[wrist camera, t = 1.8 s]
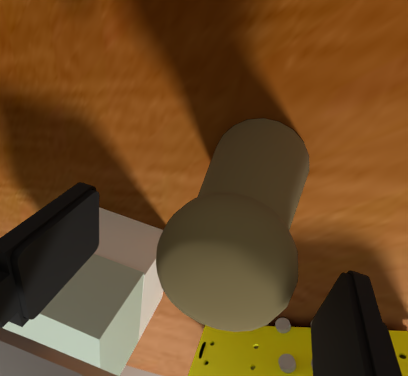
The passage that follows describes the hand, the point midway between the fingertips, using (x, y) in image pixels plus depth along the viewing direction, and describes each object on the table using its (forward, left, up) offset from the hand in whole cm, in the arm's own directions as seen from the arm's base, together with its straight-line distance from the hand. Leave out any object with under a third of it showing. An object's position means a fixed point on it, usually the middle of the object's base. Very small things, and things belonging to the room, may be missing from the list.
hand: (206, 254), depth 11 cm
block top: (+8, +12, -5) cm, 15 cm away
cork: (-1, 0, -10) cm, 10 cm away
